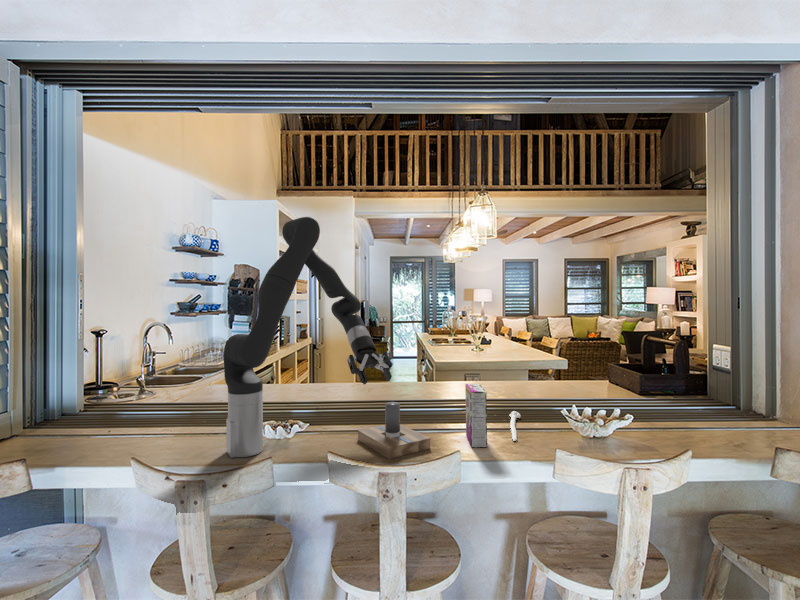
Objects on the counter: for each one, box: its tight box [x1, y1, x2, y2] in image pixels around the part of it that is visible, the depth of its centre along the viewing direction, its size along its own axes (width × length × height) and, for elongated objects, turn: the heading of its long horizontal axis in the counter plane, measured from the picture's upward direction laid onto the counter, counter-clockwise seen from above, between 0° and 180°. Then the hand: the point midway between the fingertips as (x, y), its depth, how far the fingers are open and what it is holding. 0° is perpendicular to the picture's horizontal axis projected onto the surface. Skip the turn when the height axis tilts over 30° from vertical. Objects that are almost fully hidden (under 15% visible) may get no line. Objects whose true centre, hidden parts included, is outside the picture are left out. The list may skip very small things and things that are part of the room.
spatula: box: [508, 410, 522, 442], centre depth 137 cm, size 28×4×3 cm, turn 166°
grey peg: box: [384, 401, 401, 438], centre depth 122 cm, size 4×4×12 cm
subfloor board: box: [357, 423, 431, 460], centre depth 122 cm, size 14×18×3 cm
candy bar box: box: [464, 383, 488, 448], centre depth 124 cm, size 11×5×16 cm, turn 179°
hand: (377, 381), depth 130 cm, fingers open, 8 cm apart
